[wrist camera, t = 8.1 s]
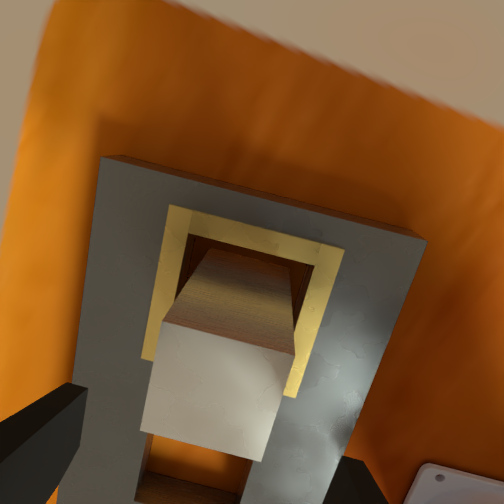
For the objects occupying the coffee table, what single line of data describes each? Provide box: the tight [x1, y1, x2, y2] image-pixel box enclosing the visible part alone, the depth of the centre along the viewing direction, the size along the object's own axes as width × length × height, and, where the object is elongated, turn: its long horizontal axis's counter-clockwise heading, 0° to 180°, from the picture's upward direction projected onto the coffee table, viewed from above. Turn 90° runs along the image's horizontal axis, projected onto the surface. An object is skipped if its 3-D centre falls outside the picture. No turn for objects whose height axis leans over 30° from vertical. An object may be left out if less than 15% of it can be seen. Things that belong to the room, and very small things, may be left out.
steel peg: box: [140, 247, 295, 462], centre depth 16 cm, size 4×4×8 cm
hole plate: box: [56, 155, 428, 504], centre depth 20 cm, size 14×20×2 cm
